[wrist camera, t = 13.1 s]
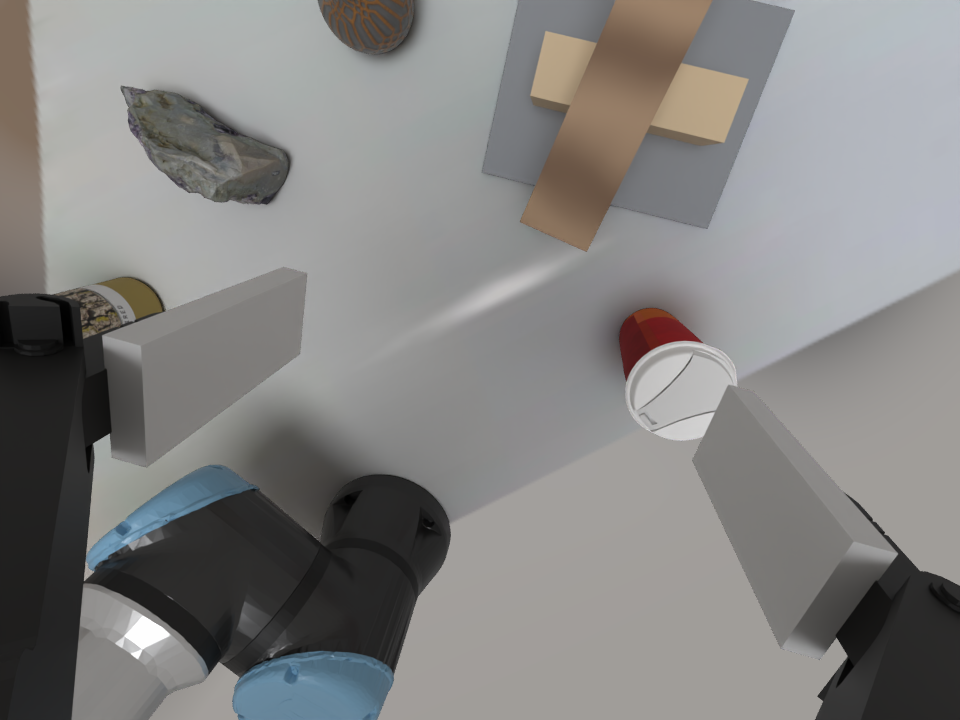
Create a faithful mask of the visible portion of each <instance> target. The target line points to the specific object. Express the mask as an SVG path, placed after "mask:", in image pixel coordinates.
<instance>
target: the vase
mask: <svg viewBox="0 0 960 720" xmlns="http://www.w3.org/2000/svg"><path fill="white" fill-rule="evenodd" d="M318 4H319V7H320V10H321V13H322V15H323V17H324V19H325V21H326V23H327V25H328V26H329V28H330V29H331V31H332V32H333V33H334V34H335V36H336V37H337V38H338V39H339V40H340V41H342V42H343V43H344V44H346V45H347V46H349V47H350V48H352V49H354V50H356V51H359V52H362V53H366V54H382V53H386V52H388V51H390V50H392V49H394V48H395V47H397V46H398V45H399V44H400V43H401V42H402V41H403V40H404V38H405V37H406V35H407V34H408V32H409V29H410V27H411V24H412V20H413V14H414V0H318Z"/></svg>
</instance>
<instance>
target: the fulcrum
mask: <svg viewBox="0 0 960 720" xmlns="http://www.w3.org/2000/svg"><path fill="white" fill-rule="evenodd" d="M615 1H616V0H519V2H518V7H517V11H516V16H515V21H514V25H513V30H512V35H511V39H510V44H509V49H508V53H507V58H506V63H505V67H504V72H503V77H502V81H501V86H500V91H499V95H498V100H497V104H496V109H495V114H494V118H493V123H492V128H491V132H490V137H489V142H488V146H487V151H486V156H485V160H484V165H483V170H482V172H483V173H487V174H491V175H495V176H499V177H503V178H507V179H510V180H514V181H518V182H522V183H526V184H530V185H534V186H535V185H536V183H537V181H538V179H539V176H540V174H541V172H542V169H543V167H544V165H545V162H546V160H547V158H548V155H549V153H550V151H551V148H552V146H553V144H554V142H555V139H556V137H557V135H558V132H559V130H560V128H561V125H562V123H563V121H564V118H565V116H566V114H567V111H568V109H569V107H570V105H571V102H572V100H573V98H574V95H575V93H576V91H577V88H578V86H579V84H580V81H581V79H582V77H583V75H584V72H585V70H586V68H587V65H588V63H589V61H590V58H591V56H592V54H593V51H594V49H595V47H596V44H597V42H598V40H599V38H600V35H601V33H602V31H603V28H604V26H605V24H606V21H607V19H608V17H609V14H610V12H611V10H612V7H613V5H614V3H615ZM794 12H795V10H791V9H786V8H782V7H778V6H773V5H769V4H765V3H760V2H756V1H752V0H713V1H712V3H711V5H710V7H709V9H708V11H707V13H706V15H705V17H704V19H703V21H702V23H701V25H700V27H699V29H698V31H697V33H696V35H695V37H694V39H693V41H692V43H691V45H690V47H689V48H688V50H687V52H686V54H685V56H684V58H683V60H682V62H681V64H680V66H679V68H678V70H677V72H676V74H675V76H674V78H673V80H672V82H671V84H670V86H669V88H668V90H667V92H666V94H665V96H664V98H663V100H662V102H661V104H660V106H659V108H658V110H657V112H656V114H655V116H654V118H653V120H652V122H651V124H650V126H649V128H648V130H647V132H646V134H645V136H644V138H643V140H642V142H641V144H640V146H639V148H638V150H637V152H636V154H635V156H634V158H633V160H632V162H631V164H630V166H629V168H628V170H627V172H626V174H625V176H624V178H623V180H622V182H621V184H620V186H619V188H618V190H617V192H616V194H615V196H614V198H613V200H612V202H611V204H610V205H614V206H618V207H622V208H626V209H630V210H634V211H638V212H642V213H646V214H650V215H654V216H658V217H662V218H666V219H670V220H674V221H678V222H682V223H686V224H690V225H694V226H698V227H702V228H706V229H708V226H709V224H710V221H711V219H712V216H713V214H714V211H715V209H716V206H717V204H718V201H719V199H720V196H721V194H722V191H723V189H724V186H725V184H726V181H727V179H728V176H729V174H730V171H731V169H732V166H733V164H734V161H735V159H736V157H737V154H738V152H739V149H740V147H741V144H742V142H743V139H744V137H745V134H746V132H747V129H748V127H749V124H750V122H751V119H752V117H753V114H754V112H755V109H756V107H757V104H758V102H759V99H760V97H761V94H762V92H763V89H764V87H765V84H766V82H767V79H768V77H769V74H770V72H771V69H772V67H773V64H774V62H775V59H776V57H777V54H778V52H779V49H780V47H781V44H782V42H783V39H784V37H785V34H786V32H787V29H788V27H789V24H790V22H791V19H792V17H793V14H794Z"/></svg>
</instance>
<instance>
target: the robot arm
mask: <svg viewBox="0 0 960 720" xmlns="http://www.w3.org/2000/svg"><path fill="white" fill-rule="evenodd" d="M306 282H307V273H304V272H300V271H297V270H293V269H289V268H285V267H283V268H280V269H277V270H275V271H272V272H269V273H267V274H264V275H261V276H259V277H256V278H253V279H251V280H248V281H245V282H243V283H240V284H237V285H235V286H232V287H229V288H227V289H224V290H221V291H219V292H216V293H213V294H211V295H208V296H205V297H203V298H200V299H197V300H195V301H192V302H189V303H187V304H184V305H181V306H179V307H176V308H173V309H171V310H168V311H164V312H158V313H152V314H149V315H147V316H144V317H141V318H138V319H136V320H135V321H134V322H133V321H130V322H127V323H125V324H122V325H120V327H114V328H111V329H108V330H106V331H103V332H100V333H98V334H95V335H92V336H89V337H87V338H84V339H83V333H82V322H81V312H80V306H79V304H78V302H76V301H74V300H72V299H70V298H67V297H62V296H58V295H50V294H16V295H8V296H1V297H0V720H148V719H149V718H150V717H151V716H152V714H153V713H154V712H155V711H156V709H157V708H158V707H159V705H160V704H161V703H162V702H163V700H164V699H165V698H166V697H167V696H168V695H169V694H171V693H173V692H174V691H177V690H180V689H183V688H187V687H190V686H193V685H196V684H199V683H202V682H203V681H204V680H205V679H206V678H207V676H208V675H209V674H210V672H211V671H212V670H213V668H214V667H215V666H216V665H217V663H218V662H220V663H222V664H223V665H224V666H226V667H227V668H228V669H230V670H231V671H232V672H233V673H235V674H236V675H238V676H239V677H240V678H239V680H238V681H237V684H236V685H235V690H234V695H233V701H232V702H233V709H234V711H235V713H237V714H238V719H239V720H377V719H378V716H379V714H380V711H381V709H382V706H383V704H384V701H385V699H386V696H387V694H388V692H389V690H390V689H391V687H392V684H393V681H394V673H395V669H396V665H397V663H398V659H399V656H400V653H401V650H402V646H403V643H404V639H405V636H406V633H407V630H408V627H409V623H410V620H411V617H412V614H413V610H414V607H415V604H416V600H417V597H418V596H419V595H420V593H421V592H422V591H423V590H424V589H425V587H426V586H427V585H428V583H429V582H430V581H431V580H432V579H433V577H434V576H435V575H436V573H437V572H438V571H439V570H440V568H441V566H442V565H443V562H444V560H445V558H446V555H447V551H448V547H449V544H450V537H451V534H450V533H451V532H450V525H449V521H448V519H447V516H446V514H445V512H444V510H443V509H442V507H441V506H440V504H439V503H438V502H437V501H436V500H435V499H434V497H433V496H431V495H430V494H429V493H428V492H427V491H425V490H424V489H423V488H421V487H419V486H418V485H416V484H414V483H412V482H410V481H407V480H405V479H402V478H398V477H394V476H387V475H371V476H366V477H362V478H359V479H356V480H354V481H352V482H350V483H348V484H347V485H346V486H344V487H343V488H342V489H341V490H340V491H339V492H338V494H337V495H336V497H335V498H334V500H333V501H332V503H331V504H330V506H329V508H328V510H327V512H326V515H325V518H324V522H323V528H322V534H321V540H320V542H319V541H318V540H317V539H315V538H314V537H313V536H312V535H311V534H309V533H308V532H307V531H306V530H305V529H304V528H302V527H301V526H300V525H299V524H298V523H297V522H295V521H294V520H293V519H292V518H291V517H289V516H288V515H287V514H286V513H285V512H284V511H282V510H281V509H280V508H279V507H278V506H277V505H275V504H274V503H273V502H272V501H271V500H269V499H268V498H267V497H266V496H265V495H264V494H262V493H261V492H260V491H259V488H258V487H257V486H256V485H250V484H249V483H248V482H246V481H245V480H244V479H242V478H241V477H240V476H239V475H237V474H236V473H235V472H233V471H232V470H231V469H229V468H227V467H225V466H222V465H208V466H205V467H202V468H200V469H197V470H195V471H193V472H191V473H190V474H188V475H186V476H184V477H183V478H181V479H180V480H178V481H176V482H175V483H173V484H172V485H170V486H169V487H167V488H166V489H164V490H163V491H161V492H160V493H158V494H157V495H156V496H154V497H153V498H151V499H150V500H149V501H147V502H146V503H145V504H143V505H142V506H141V507H139V508H138V509H137V510H135V511H134V512H133V513H132V514H130V515H129V516H128V517H127V519H126V520H125V521H123V522H121V523H120V524H119V525H118V526H116V527H115V528H114V529H112V530H111V531H109V532H108V533H107V534H106V535H104V536H103V537H102V538H101V539H100V540H99V541H98V542H97V543H96V544H95V545H94V546H93V547H92V548H91V549H90V551H89V552H88V554H87V556H86V549H87V538H88V526H89V515H90V504H91V492H92V481H93V470H94V448H93V443H94V442H96V441H98V440H99V439H101V438H103V437H104V436H106V435H108V434H109V433H110V441H111V454H112V458H115V459H118V460H122V461H125V462H129V463H132V464H136V465H139V466H143V467H146V468H147V467H148V466H150V465H151V464H152V463H154V462H155V461H156V460H158V459H159V458H160V457H162V456H163V455H164V454H166V453H167V452H168V451H170V450H171V449H172V448H174V447H175V446H177V445H178V444H179V443H181V442H182V441H183V440H185V439H186V438H187V437H189V436H190V435H191V434H193V433H194V432H195V431H197V430H198V429H199V428H201V427H202V426H203V425H205V424H206V423H208V422H209V421H210V420H212V419H213V418H214V417H216V416H217V415H218V414H220V413H221V412H222V411H224V410H225V409H226V408H228V407H229V406H230V405H232V404H233V403H235V402H236V401H237V400H239V399H240V398H241V397H243V396H244V395H245V394H247V393H248V392H249V391H251V390H252V389H253V388H255V387H256V386H257V385H259V384H260V383H261V382H263V381H264V380H266V379H267V378H268V377H270V376H271V375H272V374H274V373H275V372H276V371H278V370H279V369H280V368H282V367H283V366H284V365H286V364H287V363H288V362H290V361H291V360H293V359H294V358H295V357H297V356H298V355H299V354H300V348H301V337H302V326H303V315H304V304H305V293H306ZM692 461H693V463H694V465H695V467H696V470H697V472H698V474H699V476H700V478H701V480H702V482H703V484H704V487H705V489H706V491H707V493H708V495H709V497H710V499H711V502H712V504H713V506H714V508H715V510H716V512H717V514H718V517H719V519H720V521H721V523H722V525H723V527H724V529H725V531H726V534H727V536H728V538H729V540H730V542H731V544H732V546H733V548H734V551H735V553H736V555H737V557H738V559H739V561H740V563H741V565H742V568H743V569H744V572H745V574H746V576H747V578H748V580H749V582H750V584H751V587H752V589H753V591H754V593H755V595H756V597H757V599H758V601H759V604H760V606H761V608H762V610H763V612H764V614H765V616H766V619H767V621H768V623H769V625H770V627H771V629H772V631H773V634H774V636H775V638H776V640H777V642H778V644H779V646H780V648H781V649H783V650H787V651H790V652H794V653H798V654H801V655H805V656H808V657H811V658H815V659H818V660H820V659H821V657H822V656H823V655H824V654H825V652H826V651H827V650H828V648H829V647H830V646H831V644H832V643H833V642H834V640H835V639H836V637H837V639H838V640H839V642H840V644H841V645H842V647H843V649H844V650H845V652H846V653H847V655H848V657H847V659H846V660H845V661H844V662H843V664H842V665H841V666H840V667H839V669H838V670H837V671H836V673H835V674H834V675H833V677H832V678H831V679H830V680H829V682H828V683H827V685H826V686H825V687H824V688H823V690H822V691H821V692H820V693H819V695H818V697H819V698H820V699H821V700H823V703H822V706H821V708H820V710H819V712H818V714H817V717H816V719H815V720H960V586H959V585H957V584H955V583H953V582H951V581H949V580H947V579H945V578H943V577H941V576H938V575H935V574H932V573H929V572H923V571H919V570H918V568H917V567H916V566H915V565H914V564H913V563H912V562H911V561H910V560H909V559H908V557H907V556H906V555H905V554H904V553H903V552H902V551H901V550H900V549H899V548H898V547H897V545H896V544H895V543H894V542H893V541H892V540H891V539H890V537H889V536H887V535H884V533H885V532H884V531H883V530H882V529H881V528H880V527H879V525H878V524H877V523H876V522H873V519H872V518H871V517H870V515H869V514H868V513H867V512H866V511H865V510H864V509H863V508H862V507H861V505H860V504H859V503H857V502H856V501H855V500H854V499H852V498H851V497H850V496H848V495H847V494H845V493H844V492H843V491H842V490H841V489H840V488H839V486H838V485H837V484H836V483H835V482H834V481H833V480H832V479H831V477H830V476H829V475H828V474H827V473H826V472H825V471H824V470H823V468H822V467H821V466H820V465H819V464H818V463H817V462H816V461H815V459H814V458H813V457H812V456H811V455H810V454H809V453H808V452H807V450H806V449H805V448H804V447H803V446H802V445H801V444H800V443H799V441H798V440H797V439H796V438H795V437H794V436H793V435H792V434H791V432H790V431H789V430H788V429H787V428H786V427H785V426H784V425H783V423H782V422H781V421H780V420H779V419H778V418H777V417H776V416H775V414H774V413H773V412H772V411H771V410H770V409H769V408H768V407H767V406H766V404H765V403H764V402H763V401H762V400H761V399H760V398H759V396H758V395H757V394H756V393H755V392H754V391H751V390H748V389H744V388H740V387H736V386H733V385H729V384H728V386H727V388H726V390H725V392H724V394H723V396H722V399H721V401H720V403H719V405H718V407H717V409H716V411H715V413H714V415H713V418H712V420H711V422H710V424H709V426H708V428H707V430H706V432H705V434H704V436H703V439H702V441H701V443H700V445H699V447H698V449H697V451H696V453H695V456H694V458H693V460H692ZM85 561H87V563H88V564H89V566H88V567H89V569H90V570H92V571H94V573H93V574H92V575H91V576H90V577H88V578H87V579H86V580H85V581H84V572H85Z"/></svg>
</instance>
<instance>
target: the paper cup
mask: <svg viewBox="0 0 960 720" xmlns="http://www.w3.org/2000/svg"><path fill="white" fill-rule="evenodd" d="M619 343H620V350H621V356H622V361H623V368H624V374H625V378H626V388H625V399H626V404H627V407H628V409H629V412H630V414H631V415H632V417H633V418H634V419H635V421H636V422H637V423H638V424H639V425H641V426H642V427H643V428H644V429H646V430H648V431H649V432H652V433H654V434H656V435H657V436H660V437H663V438H666V439H670V440H678V441H683V440H692V439H697V438H700V437H703V436H704V434H705V432H706V430H707V428H708V426H709V424H710V422H711V420H712V418H713V415H714V413H715V411H716V409H717V407H718V405H719V403H720V401H721V399H722V396H723V394H724V392H725V390H726V388H727V386H728V384H729V385H733V386H736V387H737V378H736V368H735V366H734V364H733V362H732V361H731V360H730V359H729V357H728V356H727V355H726V354H725V353H724V352H722V351H721V350H720V349H717V348H714V347H711V346H708V345H706V344H704V343H703V342H702V341H701V340H699V339H698V338H697V337H696V336H695V335H694V334H693V333H692V332H691V331H689V330H688V329H687V328H686V327H685V326H684V325H683V324H682V323H680V322H679V321H678V320H677V319H676V318H674V317H673V316H672V315H671V314H669V313H668V312H666V311H664V310H661V309H657V308H646V309H642V310H639V311H637V312H635V313H633V314H632V315H630V316H629V317H628V318H627V319H626V320H625V322H624V323H623V325H622V327H621V330H620V334H619Z"/></svg>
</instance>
